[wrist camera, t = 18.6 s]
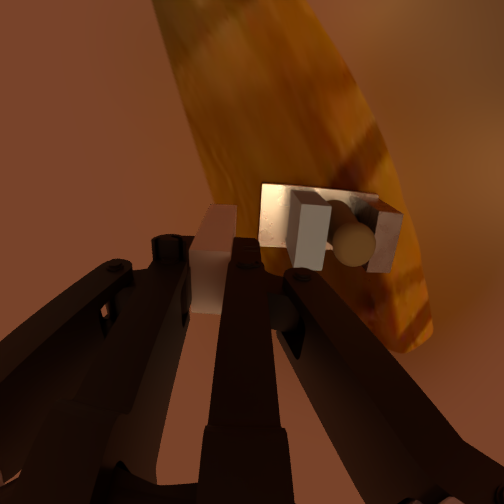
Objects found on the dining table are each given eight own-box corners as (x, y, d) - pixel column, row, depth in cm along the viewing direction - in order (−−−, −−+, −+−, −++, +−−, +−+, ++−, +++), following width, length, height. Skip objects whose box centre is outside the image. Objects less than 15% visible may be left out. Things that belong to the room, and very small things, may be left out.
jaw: (291, 189, 39) (301, 204, 32) (316, 191, 39) (331, 206, 32) (285, 244, 42) (293, 269, 35) (309, 245, 42) (321, 270, 35)
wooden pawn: (359, 225, 41) (391, 255, 31) (325, 247, 43) (348, 284, 33) (340, 191, 39) (370, 213, 29) (304, 214, 41) (323, 244, 31)
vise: (262, 182, 40) (266, 197, 31) (375, 193, 41) (404, 210, 32) (257, 242, 44) (260, 271, 35) (365, 248, 44) (388, 276, 36)
